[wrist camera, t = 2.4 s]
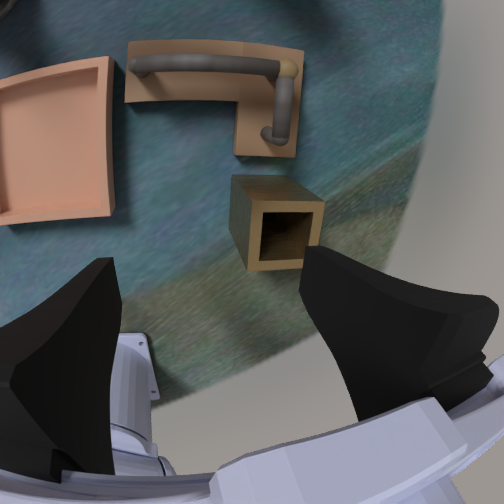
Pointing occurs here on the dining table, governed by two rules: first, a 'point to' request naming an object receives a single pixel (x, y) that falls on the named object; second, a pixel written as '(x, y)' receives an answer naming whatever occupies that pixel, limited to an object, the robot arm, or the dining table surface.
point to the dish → (57, 142)
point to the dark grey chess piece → (6, 7)
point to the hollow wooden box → (273, 232)
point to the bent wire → (225, 85)
